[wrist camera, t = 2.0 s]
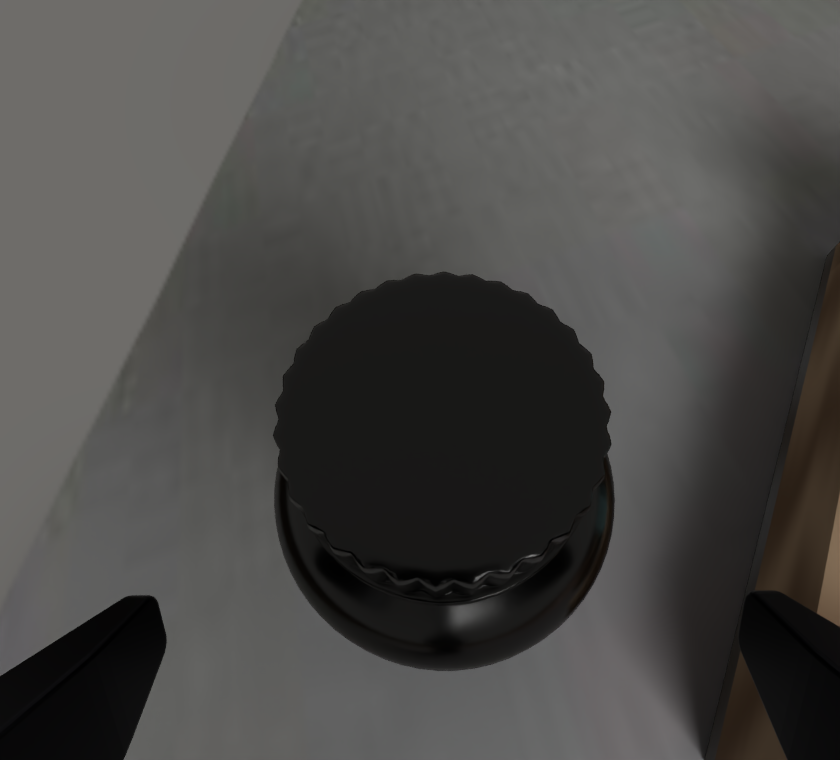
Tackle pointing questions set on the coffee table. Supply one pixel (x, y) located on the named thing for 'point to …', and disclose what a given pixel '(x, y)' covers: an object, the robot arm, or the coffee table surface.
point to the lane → (794, 524)
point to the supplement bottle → (443, 471)
